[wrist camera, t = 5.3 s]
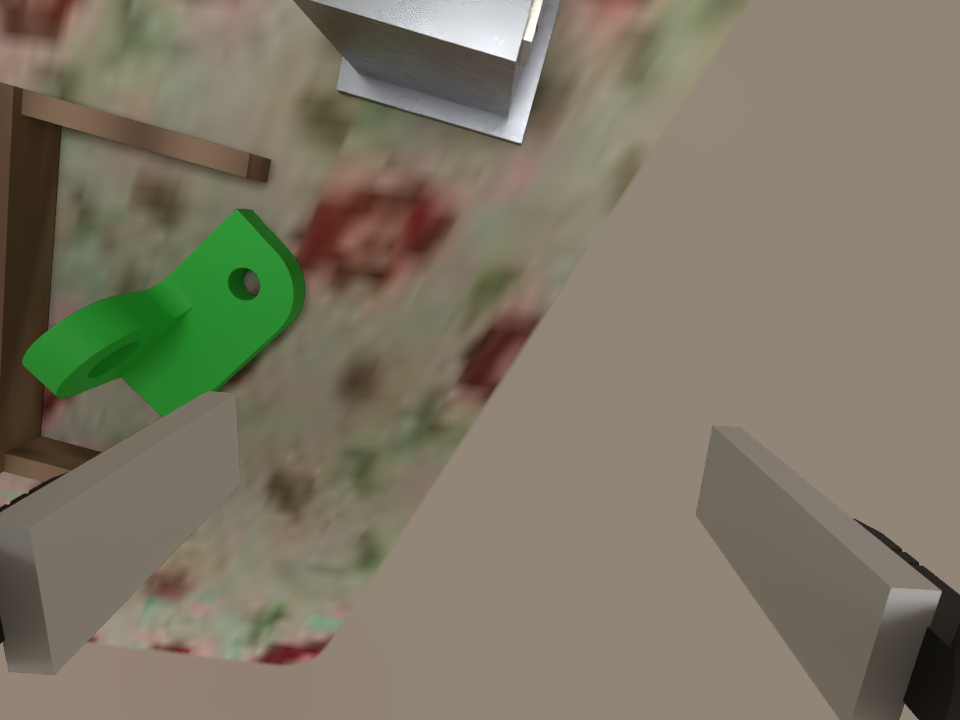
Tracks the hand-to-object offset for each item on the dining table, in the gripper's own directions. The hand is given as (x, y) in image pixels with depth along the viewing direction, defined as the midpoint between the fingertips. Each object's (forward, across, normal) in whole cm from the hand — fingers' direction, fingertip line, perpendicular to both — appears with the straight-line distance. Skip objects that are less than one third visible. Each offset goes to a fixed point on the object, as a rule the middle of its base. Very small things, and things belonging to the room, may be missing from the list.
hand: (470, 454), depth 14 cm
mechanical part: (+17, -16, 0) cm, 23 cm away
